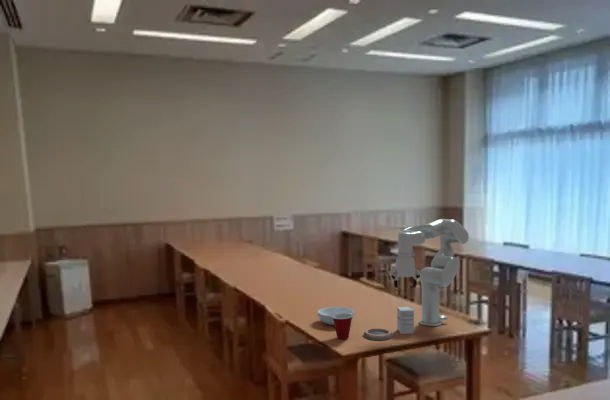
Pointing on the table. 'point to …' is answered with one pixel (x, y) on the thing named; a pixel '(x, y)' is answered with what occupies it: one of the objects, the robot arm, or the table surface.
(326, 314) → the serving bowl
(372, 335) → the ring tray
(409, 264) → the robot arm
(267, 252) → the table surface
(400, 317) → the supplement box
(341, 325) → the plastic cup
